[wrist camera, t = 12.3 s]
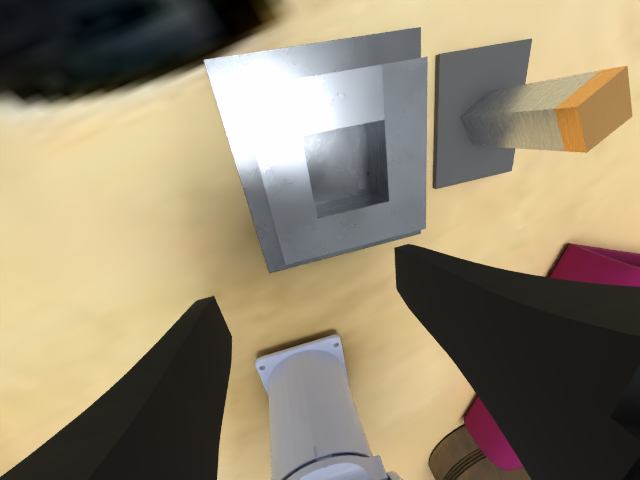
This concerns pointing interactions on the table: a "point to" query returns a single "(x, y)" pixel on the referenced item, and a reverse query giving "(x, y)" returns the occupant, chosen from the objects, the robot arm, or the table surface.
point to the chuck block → (328, 142)
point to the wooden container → (467, 461)
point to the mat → (459, 95)
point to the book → (571, 266)
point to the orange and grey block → (552, 113)
